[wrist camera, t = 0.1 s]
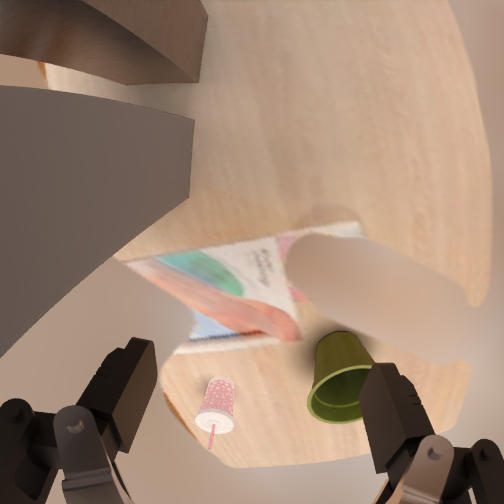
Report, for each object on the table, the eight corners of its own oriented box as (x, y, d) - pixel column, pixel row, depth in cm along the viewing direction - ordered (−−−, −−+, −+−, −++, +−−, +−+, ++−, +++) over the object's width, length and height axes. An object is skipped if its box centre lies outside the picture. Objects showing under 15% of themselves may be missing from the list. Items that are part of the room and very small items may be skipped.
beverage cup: (232, 399, 50) (223, 461, 37) (200, 389, 50) (184, 450, 36) (243, 379, 48) (236, 445, 35) (210, 368, 47) (194, 433, 34)
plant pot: (386, 330, 43) (410, 377, 33) (346, 380, 47) (359, 429, 37) (325, 306, 42) (339, 356, 31) (288, 362, 46) (291, 415, 35)
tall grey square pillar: (123, 120, 34) (-115, 135, 4) (194, 120, 34) (-55, 84, 3) (120, 192, 38) (-90, 308, 7) (188, 197, 37) (-10, 369, 7)
